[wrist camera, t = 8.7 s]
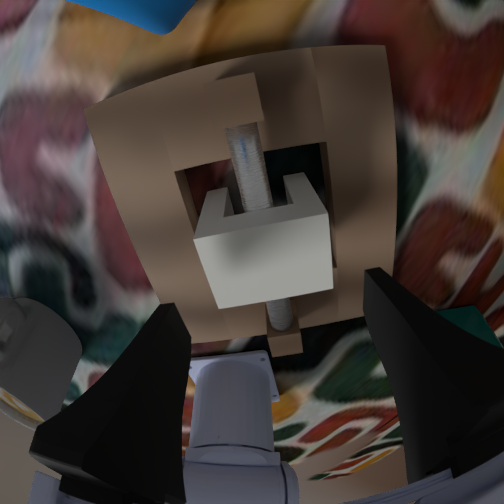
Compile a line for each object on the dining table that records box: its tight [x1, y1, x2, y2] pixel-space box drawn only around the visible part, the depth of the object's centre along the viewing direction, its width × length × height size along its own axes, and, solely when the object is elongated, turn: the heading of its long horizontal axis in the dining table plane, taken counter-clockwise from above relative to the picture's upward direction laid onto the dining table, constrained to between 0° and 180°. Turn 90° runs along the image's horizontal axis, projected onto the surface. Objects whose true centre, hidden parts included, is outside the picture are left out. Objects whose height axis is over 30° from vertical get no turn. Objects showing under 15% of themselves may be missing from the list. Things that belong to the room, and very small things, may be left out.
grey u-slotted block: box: [193, 172, 333, 309], centre depth 15 cm, size 4×6×6 cm
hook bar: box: [224, 122, 294, 332], centre depth 15 cm, size 14×1×1 cm, turn 12°
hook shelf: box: [83, 45, 397, 357], centre depth 16 cm, size 18×16×5 cm
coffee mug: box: [0, 297, 82, 431], centre depth 20 cm, size 13×10×10 cm
